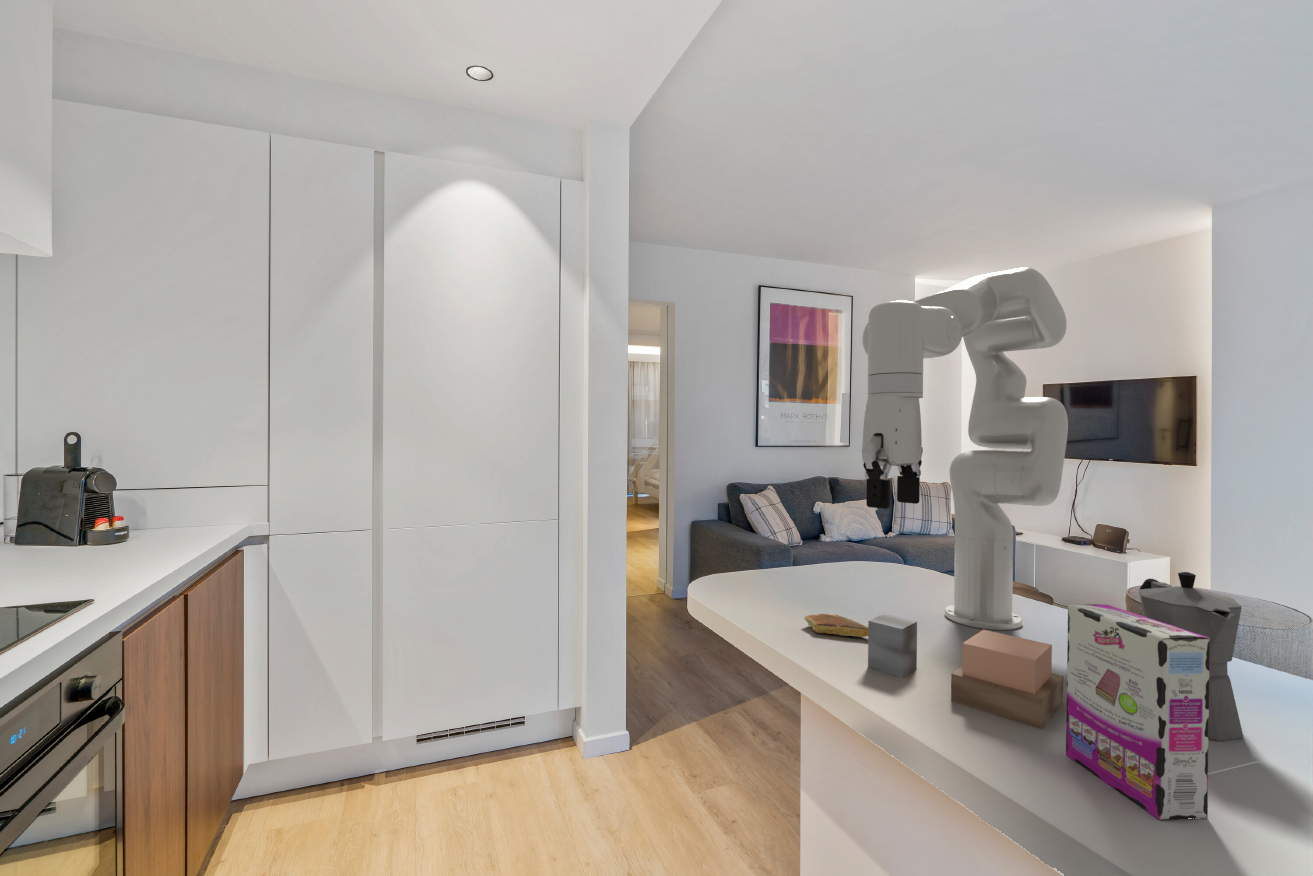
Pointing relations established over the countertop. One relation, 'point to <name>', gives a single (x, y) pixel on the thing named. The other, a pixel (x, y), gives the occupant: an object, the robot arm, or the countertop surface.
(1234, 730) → the coffeepot
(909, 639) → the grey block
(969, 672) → the tower top
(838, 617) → the flatbread slice
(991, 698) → the tower base
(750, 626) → the countertop surface
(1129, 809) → the countertop surface
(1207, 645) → the candy bar box
